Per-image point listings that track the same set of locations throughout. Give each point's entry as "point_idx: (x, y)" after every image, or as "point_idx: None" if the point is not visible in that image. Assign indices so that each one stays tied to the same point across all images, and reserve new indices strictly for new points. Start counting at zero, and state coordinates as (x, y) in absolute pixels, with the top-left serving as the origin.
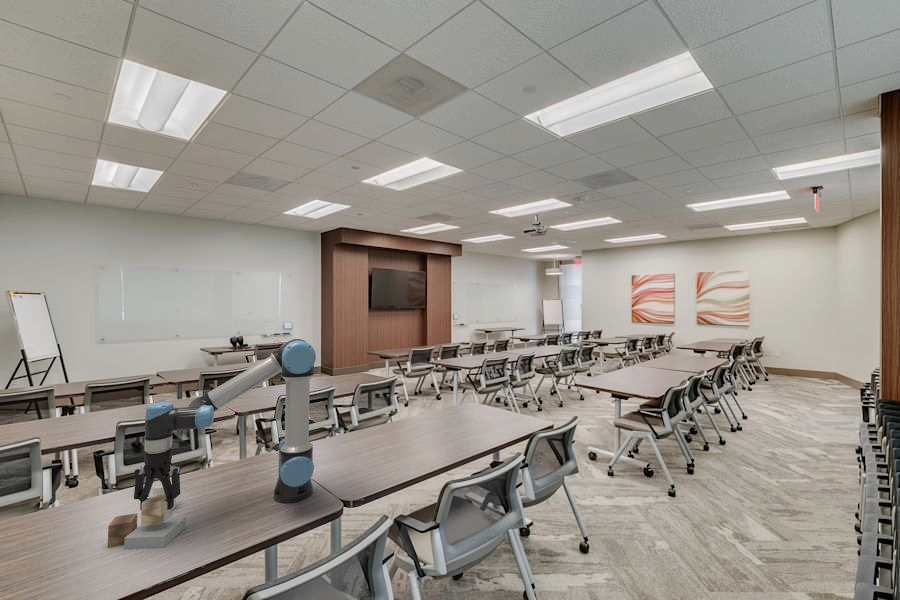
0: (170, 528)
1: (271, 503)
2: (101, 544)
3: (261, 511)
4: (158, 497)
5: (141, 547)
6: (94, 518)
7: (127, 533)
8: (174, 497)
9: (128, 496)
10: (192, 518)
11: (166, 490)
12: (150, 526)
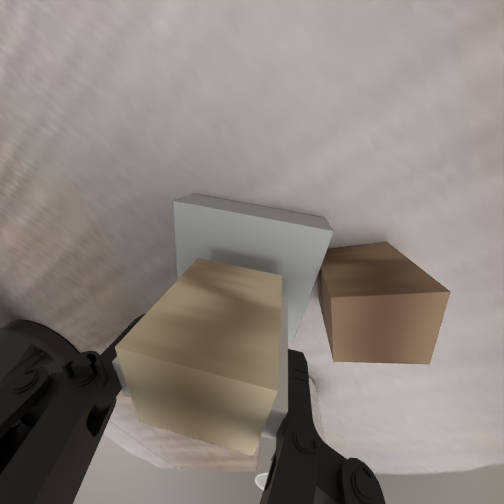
0: (184, 256)
1: (64, 330)
2: None
3: (60, 306)
4: (197, 419)
5: (265, 207)
6: (469, 405)
7: (335, 267)
8: (28, 374)
9: (401, 454)
10: None
11: (2, 497)
12: None
